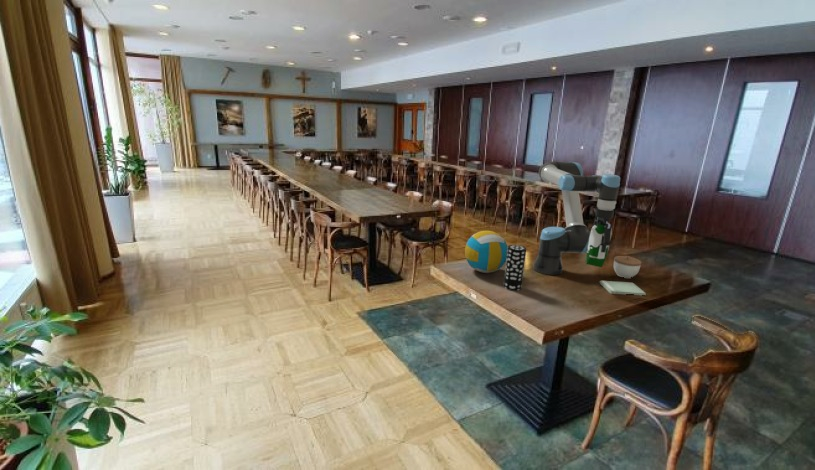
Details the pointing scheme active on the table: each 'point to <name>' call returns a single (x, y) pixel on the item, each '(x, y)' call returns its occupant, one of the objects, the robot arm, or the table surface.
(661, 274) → the table surface
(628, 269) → the lidded bowl
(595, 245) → the soya milk
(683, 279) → the table surface
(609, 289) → the board
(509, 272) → the spotted tube
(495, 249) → the volleyball
